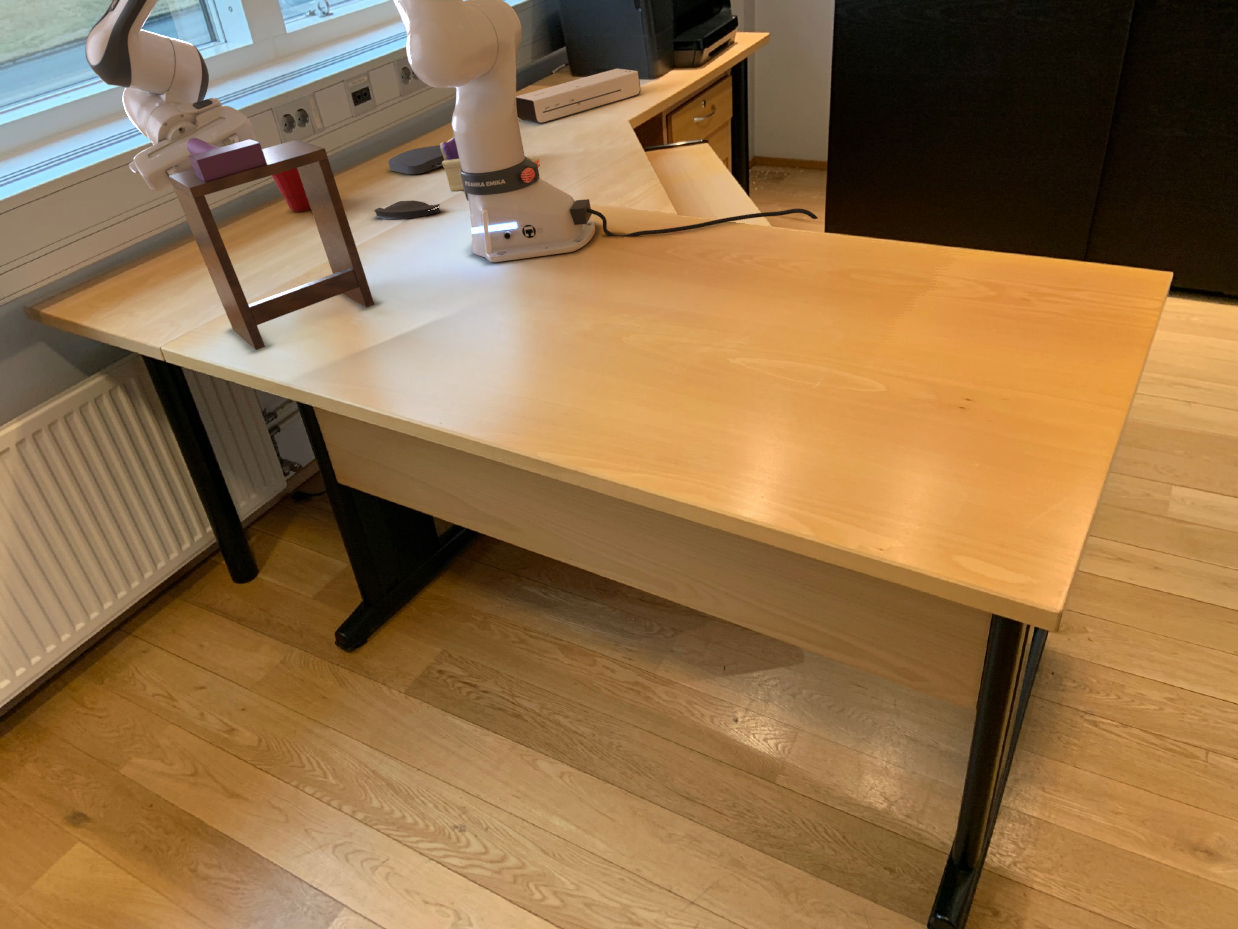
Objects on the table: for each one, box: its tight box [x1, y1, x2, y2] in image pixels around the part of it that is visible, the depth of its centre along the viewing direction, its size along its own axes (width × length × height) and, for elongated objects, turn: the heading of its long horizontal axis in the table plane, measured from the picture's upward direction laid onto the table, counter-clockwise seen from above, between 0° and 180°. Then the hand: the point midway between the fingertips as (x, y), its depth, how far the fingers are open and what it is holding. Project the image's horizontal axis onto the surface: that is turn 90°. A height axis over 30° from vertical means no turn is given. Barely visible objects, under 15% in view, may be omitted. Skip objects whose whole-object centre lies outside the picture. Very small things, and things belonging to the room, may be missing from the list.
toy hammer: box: [187, 138, 267, 182], centre depth 132 cm, size 20×9×3 cm, turn 37°
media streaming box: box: [387, 144, 444, 175], centre depth 217 cm, size 15×15×3 cm
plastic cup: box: [270, 168, 311, 213], centre depth 197 cm, size 11×11×12 cm
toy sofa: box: [439, 135, 464, 192], centre depth 199 cm, size 21×9×10 cm, turn 169°
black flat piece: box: [373, 200, 441, 220], centre depth 184 cm, size 8×14×2 cm, turn 57°
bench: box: [169, 139, 375, 351], centre depth 138 cm, size 20×12×25 cm, turn 127°
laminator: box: [516, 67, 641, 124], centre depth 246 cm, size 34×12×6 cm, turn 124°
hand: (216, 169), depth 148 cm, fingers open, 8 cm apart
